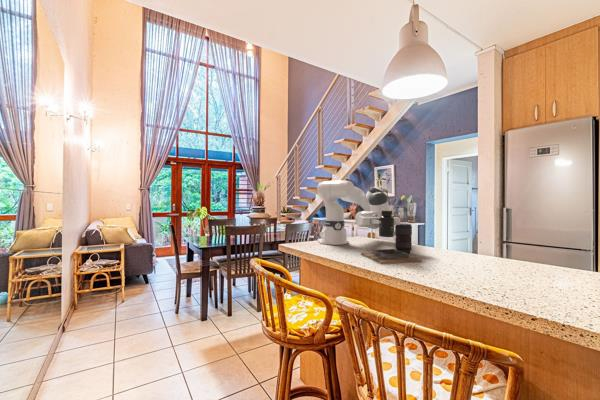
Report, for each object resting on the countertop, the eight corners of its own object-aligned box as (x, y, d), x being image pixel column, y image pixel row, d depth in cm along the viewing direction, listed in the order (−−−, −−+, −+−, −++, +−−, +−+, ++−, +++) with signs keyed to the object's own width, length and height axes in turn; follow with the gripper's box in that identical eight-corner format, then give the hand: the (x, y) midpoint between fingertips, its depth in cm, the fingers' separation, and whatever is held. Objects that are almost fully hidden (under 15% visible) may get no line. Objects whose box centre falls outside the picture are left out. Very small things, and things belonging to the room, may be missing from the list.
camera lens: (391, 252, 148) (391, 223, 148) (403, 251, 151) (403, 223, 151) (403, 255, 140) (403, 224, 140) (415, 253, 144) (415, 224, 144)
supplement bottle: (394, 237, 127) (395, 211, 127) (379, 237, 128) (379, 210, 128) (393, 235, 134) (393, 210, 134) (378, 235, 135) (378, 210, 135)
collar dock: (360, 254, 140) (360, 248, 140) (396, 253, 145) (396, 247, 145) (381, 263, 120) (381, 256, 120) (422, 261, 125) (422, 255, 125)
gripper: (391, 226, 146) (407, 228, 132) (354, 226, 141) (367, 229, 128) (391, 213, 146) (407, 215, 132) (355, 213, 141) (367, 215, 128)
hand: (387, 222), depth 130 cm, fingers closed on supplement bottle, 7 cm apart
